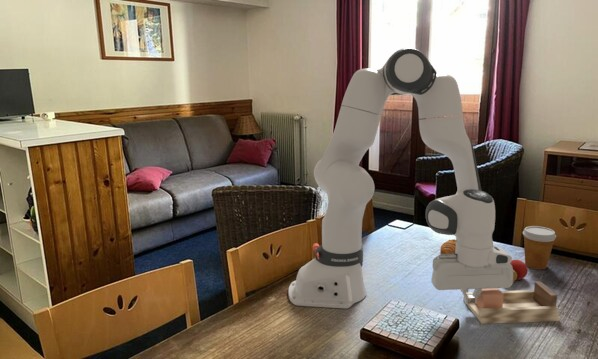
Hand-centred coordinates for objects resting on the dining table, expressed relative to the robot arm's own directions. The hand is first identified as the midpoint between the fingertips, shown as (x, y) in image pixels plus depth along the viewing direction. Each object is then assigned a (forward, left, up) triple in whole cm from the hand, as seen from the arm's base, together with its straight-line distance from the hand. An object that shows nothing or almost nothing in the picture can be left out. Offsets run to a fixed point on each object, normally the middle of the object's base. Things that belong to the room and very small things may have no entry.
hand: (469, 302), depth 120 cm
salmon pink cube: (+5, 0, -2) cm, 5 cm away
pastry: (+10, +41, -3) cm, 42 cm away
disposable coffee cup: (+33, +27, -3) cm, 43 cm away
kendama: (+16, +18, -3) cm, 24 cm away
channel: (+11, 0, -3) cm, 11 cm away
